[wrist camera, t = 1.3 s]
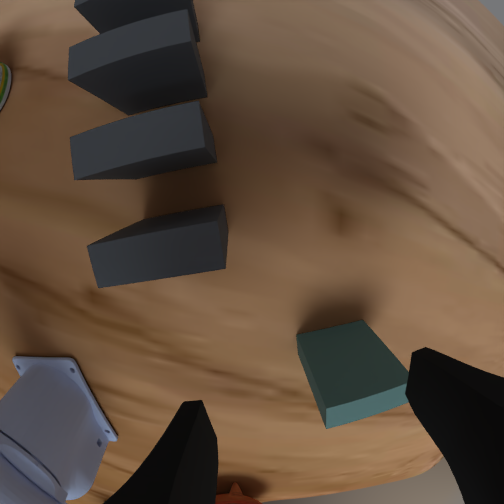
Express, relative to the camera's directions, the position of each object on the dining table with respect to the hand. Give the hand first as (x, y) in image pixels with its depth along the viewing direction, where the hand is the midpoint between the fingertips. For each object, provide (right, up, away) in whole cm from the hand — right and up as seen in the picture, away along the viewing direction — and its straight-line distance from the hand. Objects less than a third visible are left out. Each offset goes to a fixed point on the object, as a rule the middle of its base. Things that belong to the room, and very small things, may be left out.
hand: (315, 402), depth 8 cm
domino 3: (-6, +10, +7) cm, 14 cm away
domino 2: (-7, +14, +6) cm, 17 cm away
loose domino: (+3, -1, +10) cm, 11 cm away
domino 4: (-6, +6, +8) cm, 12 cm away
